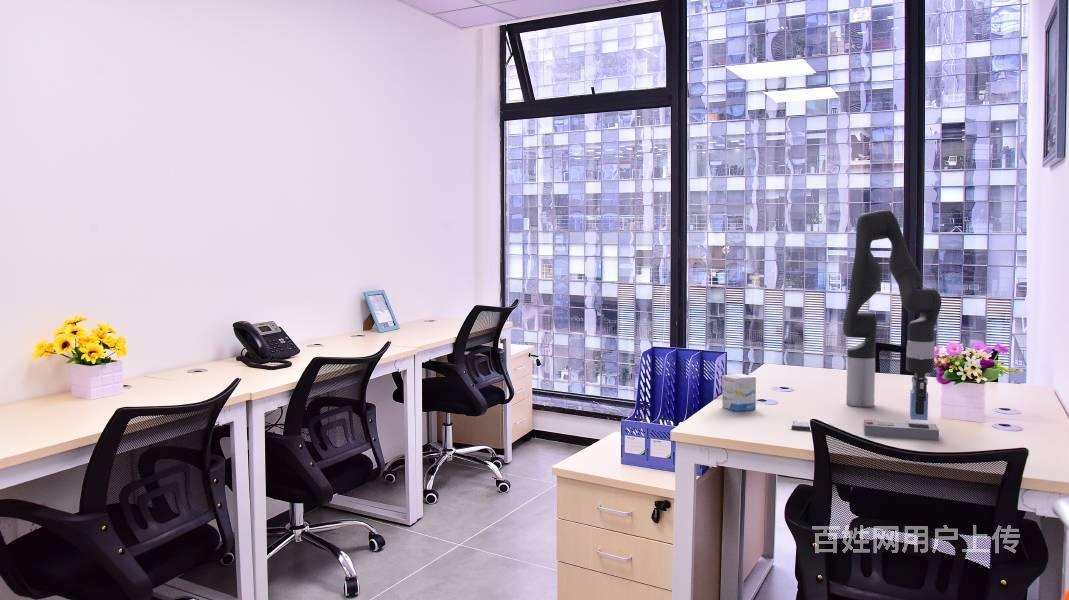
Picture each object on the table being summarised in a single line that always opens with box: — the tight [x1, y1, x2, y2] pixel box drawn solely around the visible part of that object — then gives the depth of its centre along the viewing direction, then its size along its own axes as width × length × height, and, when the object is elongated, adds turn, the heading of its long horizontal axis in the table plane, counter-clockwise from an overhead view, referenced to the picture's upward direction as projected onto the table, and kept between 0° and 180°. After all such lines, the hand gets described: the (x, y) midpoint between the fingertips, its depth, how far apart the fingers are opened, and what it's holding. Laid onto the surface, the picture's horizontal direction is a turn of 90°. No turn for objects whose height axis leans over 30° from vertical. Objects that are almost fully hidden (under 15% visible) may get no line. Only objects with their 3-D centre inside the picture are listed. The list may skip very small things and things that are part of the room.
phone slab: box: [791, 420, 834, 432], centre depth 245 cm, size 7×12×1 cm, turn 69°
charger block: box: [909, 389, 929, 421], centre depth 234 cm, size 4×4×8 cm
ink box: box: [721, 373, 757, 412], centre depth 275 cm, size 9×8×12 cm
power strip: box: [863, 419, 940, 441], centre depth 236 cm, size 8×20×4 cm, turn 69°
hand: (918, 412), depth 234 cm, fingers closed on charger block, 4 cm apart
